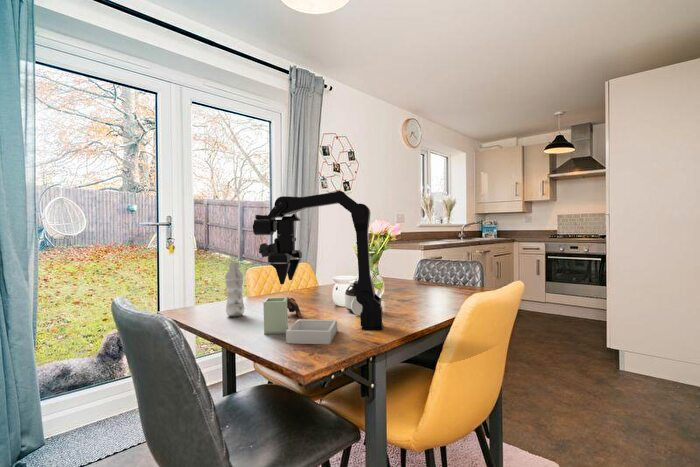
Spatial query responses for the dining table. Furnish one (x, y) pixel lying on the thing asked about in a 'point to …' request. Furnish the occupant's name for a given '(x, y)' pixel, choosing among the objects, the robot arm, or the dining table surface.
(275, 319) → the green crate
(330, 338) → the grey crate
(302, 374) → the dining table surface
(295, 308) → the pottery mug
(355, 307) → the spread jar
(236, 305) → the plastic bottle
